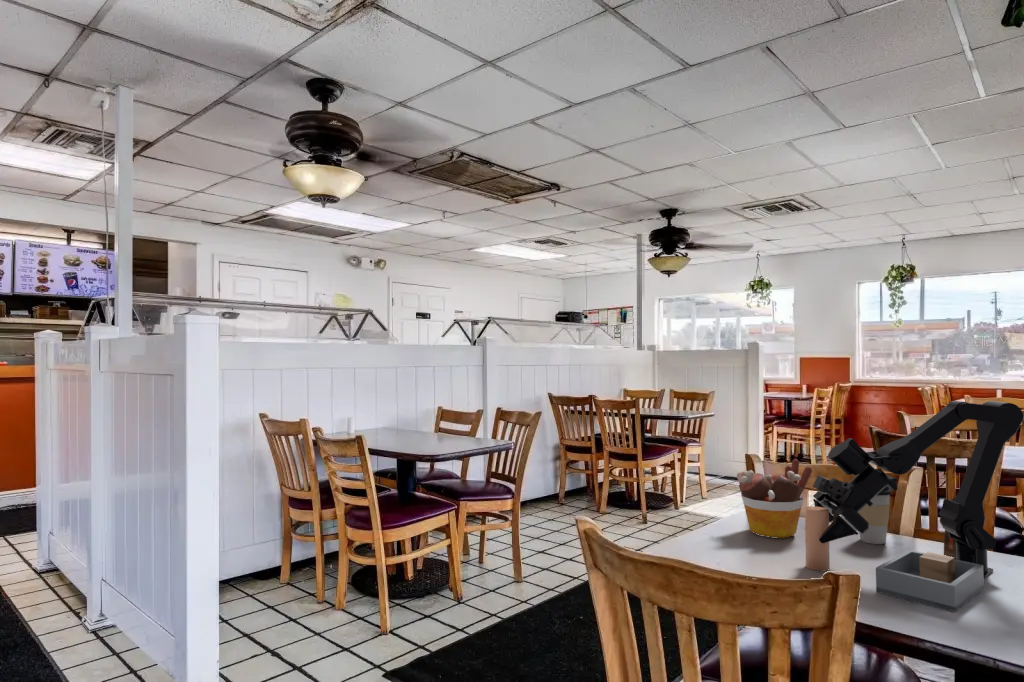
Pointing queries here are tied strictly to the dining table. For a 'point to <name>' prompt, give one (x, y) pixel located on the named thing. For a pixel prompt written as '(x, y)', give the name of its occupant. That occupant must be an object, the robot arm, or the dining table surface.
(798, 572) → the dining table surface
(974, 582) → the tote
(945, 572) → the cube
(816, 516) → the cylinder
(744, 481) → the bucket of meat
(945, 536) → the tin
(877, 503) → the coffee cup
